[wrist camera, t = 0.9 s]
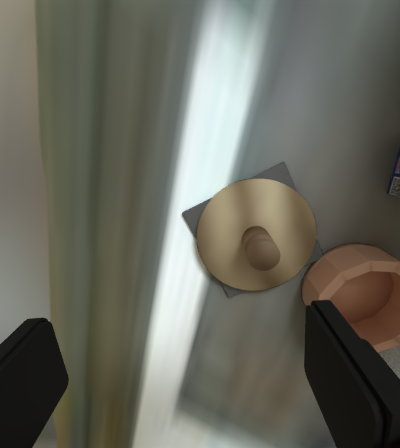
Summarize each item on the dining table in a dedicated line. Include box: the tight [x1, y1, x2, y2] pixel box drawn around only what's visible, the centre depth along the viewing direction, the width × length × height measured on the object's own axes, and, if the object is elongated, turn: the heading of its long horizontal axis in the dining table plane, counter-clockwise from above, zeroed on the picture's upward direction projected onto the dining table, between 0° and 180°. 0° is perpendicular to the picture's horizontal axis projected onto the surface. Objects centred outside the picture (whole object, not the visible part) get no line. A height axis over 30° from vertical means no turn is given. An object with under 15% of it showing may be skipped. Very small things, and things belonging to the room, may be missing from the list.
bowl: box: [301, 243, 400, 352], centre depth 31 cm, size 12×12×5 cm
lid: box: [197, 178, 316, 290], centre depth 28 cm, size 14×14×6 cm
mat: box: [182, 162, 323, 298], centre depth 31 cm, size 13×13×1 cm
